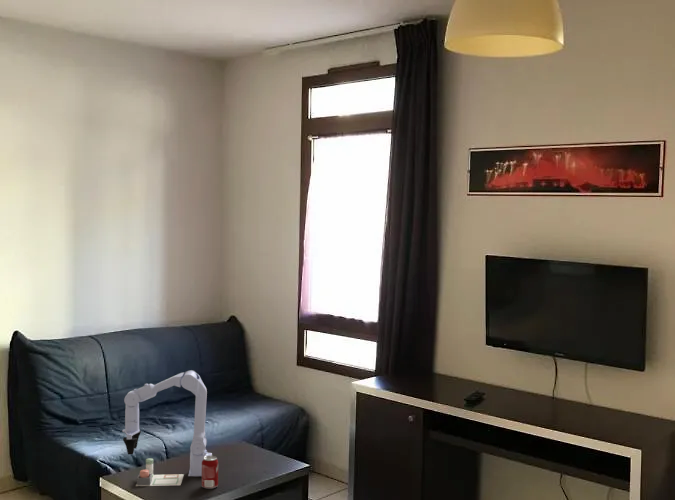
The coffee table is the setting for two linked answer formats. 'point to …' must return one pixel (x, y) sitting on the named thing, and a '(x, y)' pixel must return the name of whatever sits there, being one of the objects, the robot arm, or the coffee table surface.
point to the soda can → (210, 472)
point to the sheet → (166, 480)
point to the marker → (149, 465)
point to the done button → (144, 473)
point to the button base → (144, 480)
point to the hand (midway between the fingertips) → (132, 451)
